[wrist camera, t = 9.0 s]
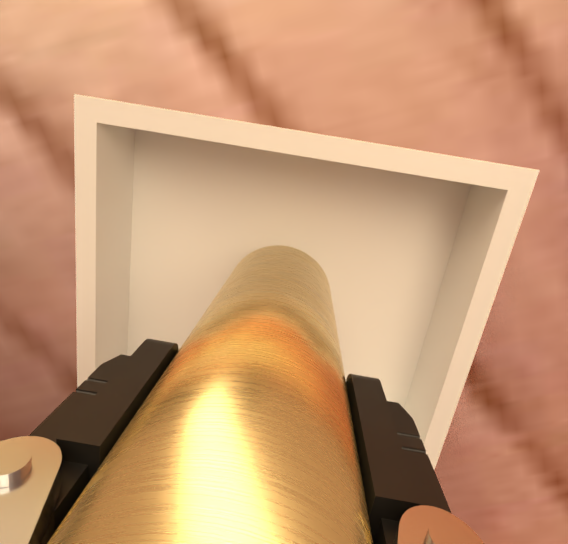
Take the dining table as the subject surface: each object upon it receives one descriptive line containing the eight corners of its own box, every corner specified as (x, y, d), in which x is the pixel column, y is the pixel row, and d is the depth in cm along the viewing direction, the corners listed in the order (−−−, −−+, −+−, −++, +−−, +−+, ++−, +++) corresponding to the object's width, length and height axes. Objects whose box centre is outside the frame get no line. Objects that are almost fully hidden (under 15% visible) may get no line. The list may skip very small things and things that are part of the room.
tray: (410, 415, 20) (433, 472, 16) (118, 364, 20) (77, 410, 17) (487, 167, 16) (539, 169, 12) (125, 108, 16) (73, 93, 13)
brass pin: (339, 254, 15) (481, 679, 3) (320, 349, 16) (356, 929, 4) (233, 237, 15) (-93, 573, 3) (222, 333, 17) (-36, 854, 4)
